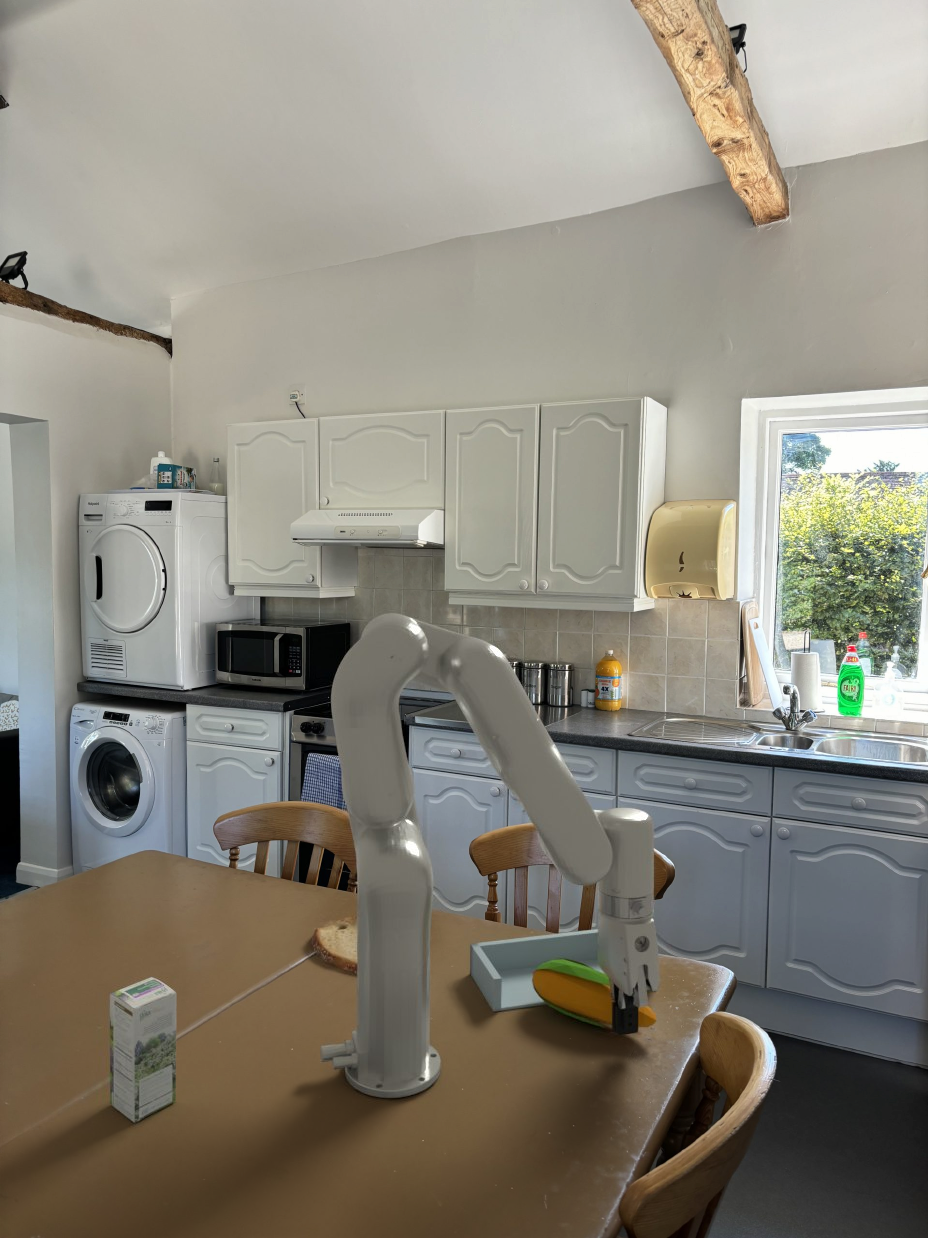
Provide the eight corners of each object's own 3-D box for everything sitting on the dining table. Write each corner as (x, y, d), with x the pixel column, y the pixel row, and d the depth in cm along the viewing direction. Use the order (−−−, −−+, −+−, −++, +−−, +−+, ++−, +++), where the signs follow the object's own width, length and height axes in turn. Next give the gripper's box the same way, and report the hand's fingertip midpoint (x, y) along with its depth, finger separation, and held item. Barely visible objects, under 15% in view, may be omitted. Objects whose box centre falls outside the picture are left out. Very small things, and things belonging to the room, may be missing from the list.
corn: (547, 939, 135) (668, 980, 124) (547, 984, 136) (667, 1029, 125) (522, 961, 129) (647, 1006, 118) (522, 1008, 130) (646, 1057, 119)
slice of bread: (405, 979, 140) (405, 957, 140) (295, 975, 141) (295, 953, 140) (417, 932, 158) (417, 912, 157) (319, 928, 159) (319, 908, 158)
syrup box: (152, 1084, 110) (150, 974, 109) (178, 1103, 107) (176, 989, 106) (109, 1105, 106) (107, 991, 105) (135, 1126, 102) (133, 1007, 101)
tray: (493, 1011, 129) (494, 979, 129) (469, 973, 141) (470, 944, 141) (655, 989, 137) (656, 958, 136) (620, 954, 149) (620, 926, 148)
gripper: (678, 919, 111) (677, 1056, 113) (625, 878, 126) (625, 1000, 127) (625, 927, 109) (625, 1066, 110) (577, 884, 124) (577, 1008, 125)
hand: (625, 1031), depth 119 cm, fingers closed
